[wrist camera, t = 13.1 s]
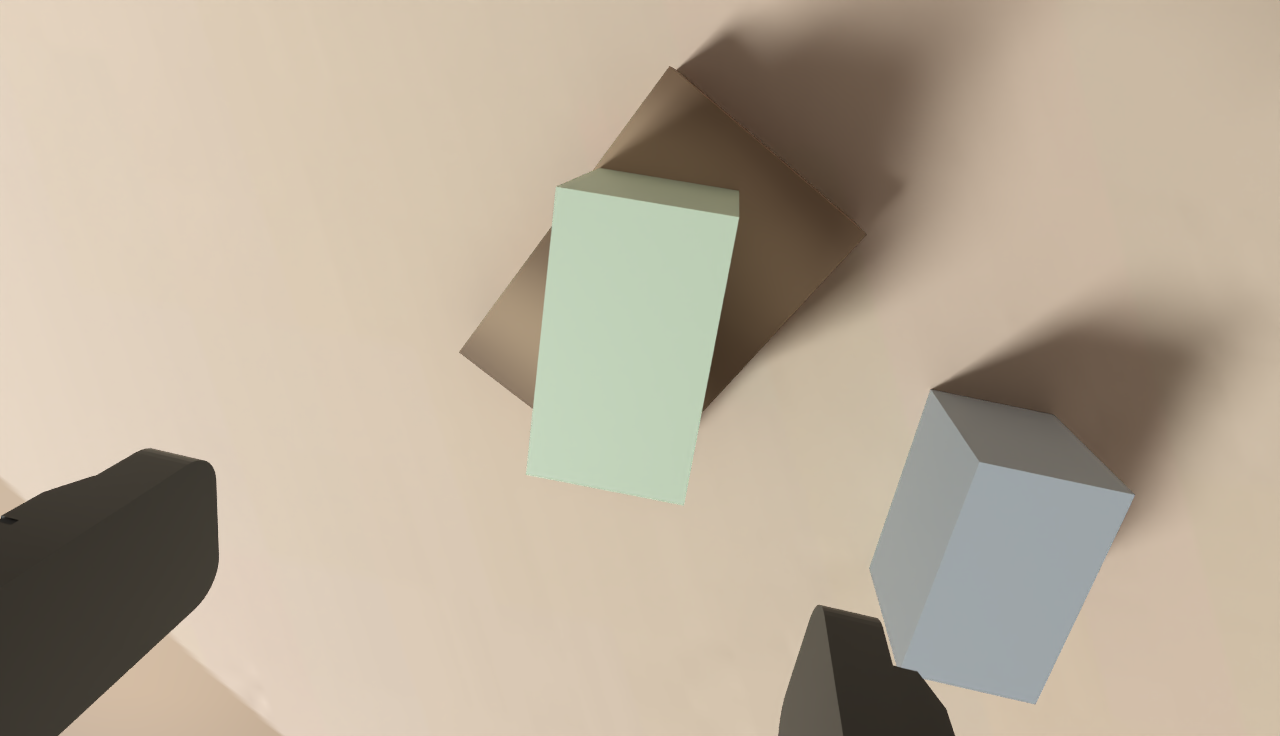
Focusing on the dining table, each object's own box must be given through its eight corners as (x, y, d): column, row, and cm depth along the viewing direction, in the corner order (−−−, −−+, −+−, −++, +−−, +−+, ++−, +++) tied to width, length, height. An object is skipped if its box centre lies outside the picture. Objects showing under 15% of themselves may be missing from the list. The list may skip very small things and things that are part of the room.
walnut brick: (677, 70, 25) (669, 66, 22) (853, 220, 26) (866, 234, 23) (485, 328, 29) (459, 352, 26) (643, 450, 30) (633, 486, 27)
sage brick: (599, 168, 24) (555, 186, 18) (739, 190, 23) (739, 217, 18) (571, 396, 26) (526, 474, 21) (695, 419, 26) (683, 505, 20)
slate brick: (930, 388, 27) (979, 462, 22) (1052, 413, 27) (1135, 495, 21) (868, 567, 30) (898, 672, 24) (979, 591, 30) (1035, 704, 24)
